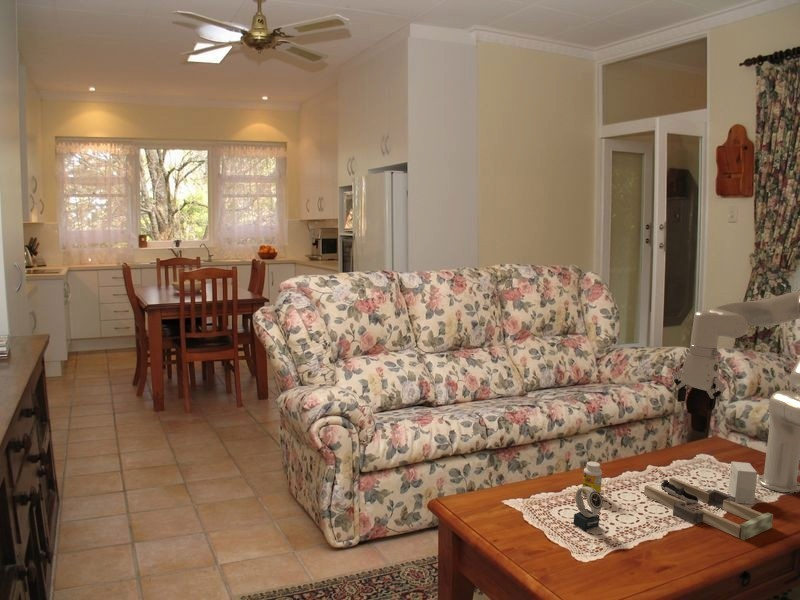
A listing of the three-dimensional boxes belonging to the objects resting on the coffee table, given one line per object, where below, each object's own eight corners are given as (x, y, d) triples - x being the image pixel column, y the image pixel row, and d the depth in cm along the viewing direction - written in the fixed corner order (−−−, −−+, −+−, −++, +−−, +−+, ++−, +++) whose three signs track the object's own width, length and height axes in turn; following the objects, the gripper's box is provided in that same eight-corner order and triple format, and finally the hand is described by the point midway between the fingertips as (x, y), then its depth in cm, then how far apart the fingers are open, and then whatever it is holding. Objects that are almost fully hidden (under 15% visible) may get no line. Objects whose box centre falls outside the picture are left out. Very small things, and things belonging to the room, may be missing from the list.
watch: (590, 533, 193) (592, 496, 191) (568, 521, 199) (571, 485, 198) (604, 529, 195) (607, 492, 194) (583, 517, 202) (585, 481, 200)
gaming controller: (665, 497, 222) (655, 485, 219) (673, 486, 223) (663, 474, 220) (692, 511, 213) (681, 499, 210) (701, 500, 213) (690, 487, 211)
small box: (754, 505, 214) (757, 472, 212) (734, 503, 215) (738, 470, 213) (746, 494, 221) (750, 462, 220) (727, 492, 222) (731, 460, 221)
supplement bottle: (578, 492, 219) (580, 461, 217) (592, 490, 221) (594, 459, 219) (589, 499, 214) (591, 468, 212) (604, 497, 216) (606, 465, 214)
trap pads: (713, 500, 216) (713, 499, 216) (728, 507, 212) (728, 506, 212) (678, 514, 206) (678, 513, 206) (693, 521, 202) (693, 520, 202)
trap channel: (677, 483, 228) (679, 472, 227) (778, 524, 201) (779, 511, 200) (636, 498, 216) (637, 486, 215) (737, 543, 189) (738, 529, 189)
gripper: (736, 357, 209) (728, 412, 211) (684, 344, 222) (677, 396, 225) (723, 359, 204) (715, 415, 207) (670, 346, 218) (663, 399, 221)
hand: (695, 405), depth 216 cm, fingers open, 9 cm apart
